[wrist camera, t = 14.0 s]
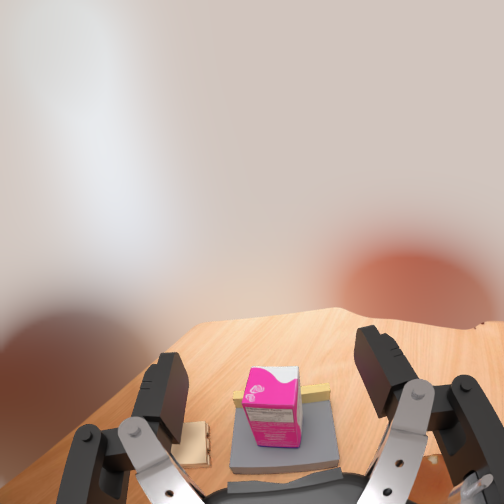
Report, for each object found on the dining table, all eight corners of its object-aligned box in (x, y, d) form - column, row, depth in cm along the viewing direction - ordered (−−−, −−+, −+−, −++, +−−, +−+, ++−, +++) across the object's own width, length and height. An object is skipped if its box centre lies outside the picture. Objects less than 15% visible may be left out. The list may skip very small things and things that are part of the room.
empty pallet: (148, 468, 29) (142, 463, 28) (152, 430, 36) (147, 424, 35) (211, 467, 29) (207, 462, 29) (209, 427, 37) (206, 420, 36)
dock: (233, 473, 28) (225, 460, 26) (240, 410, 39) (233, 391, 37) (337, 466, 27) (341, 452, 25) (327, 403, 38) (328, 382, 36)
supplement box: (262, 414, 35) (251, 364, 30) (303, 416, 33) (301, 364, 29) (255, 447, 30) (240, 402, 25) (300, 449, 28) (297, 405, 24)
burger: (396, 531, 14) (409, 526, 13) (380, 479, 23) (389, 467, 21) (461, 498, 14) (477, 487, 12) (441, 452, 23) (453, 438, 21)
